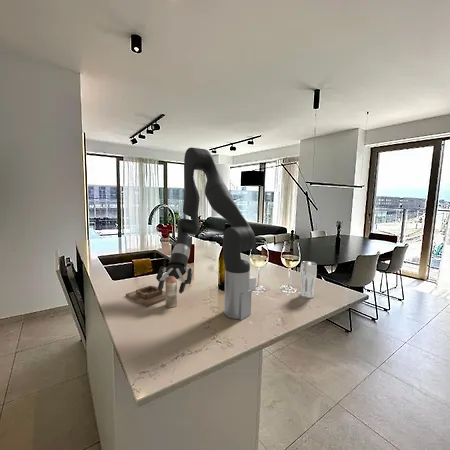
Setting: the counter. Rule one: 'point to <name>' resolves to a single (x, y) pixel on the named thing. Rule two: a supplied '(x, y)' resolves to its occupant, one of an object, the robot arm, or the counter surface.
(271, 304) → the counter surface
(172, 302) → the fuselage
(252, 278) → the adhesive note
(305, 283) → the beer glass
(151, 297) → the cradle
